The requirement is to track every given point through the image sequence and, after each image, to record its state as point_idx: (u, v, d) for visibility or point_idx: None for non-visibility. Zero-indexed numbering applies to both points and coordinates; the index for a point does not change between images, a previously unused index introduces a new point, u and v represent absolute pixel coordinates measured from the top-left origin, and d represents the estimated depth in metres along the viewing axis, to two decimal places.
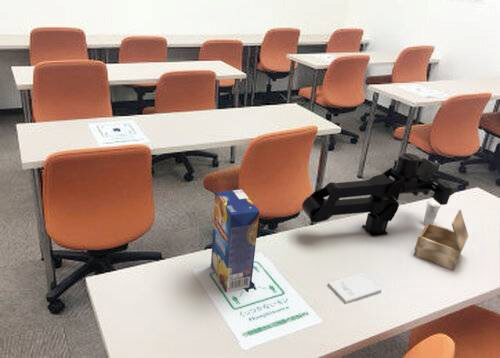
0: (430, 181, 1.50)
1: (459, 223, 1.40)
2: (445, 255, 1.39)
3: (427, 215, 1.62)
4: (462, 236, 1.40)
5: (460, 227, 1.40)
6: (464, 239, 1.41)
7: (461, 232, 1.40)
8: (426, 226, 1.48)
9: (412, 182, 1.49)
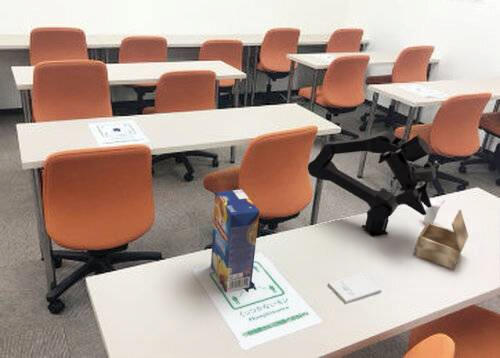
0: (413, 181, 1.40)
1: (459, 223, 1.40)
2: (445, 255, 1.39)
3: (427, 215, 1.62)
4: (462, 236, 1.40)
5: (460, 227, 1.40)
6: (464, 239, 1.41)
7: (461, 232, 1.40)
8: (426, 226, 1.48)
9: (402, 164, 1.41)
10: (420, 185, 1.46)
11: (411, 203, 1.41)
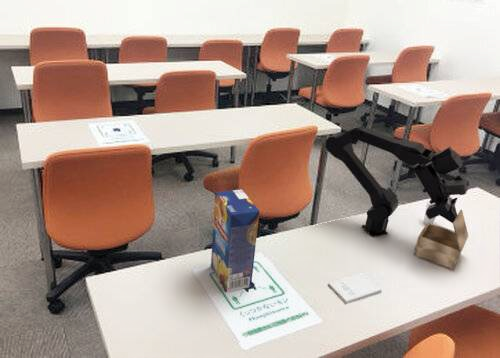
0: (444, 195, 1.36)
1: (460, 223, 1.40)
2: (445, 255, 1.39)
3: None
4: (463, 236, 1.40)
5: (461, 227, 1.40)
6: (464, 239, 1.41)
7: (461, 232, 1.40)
8: (426, 226, 1.48)
9: (432, 176, 1.37)
10: (448, 201, 1.40)
11: (444, 213, 1.39)
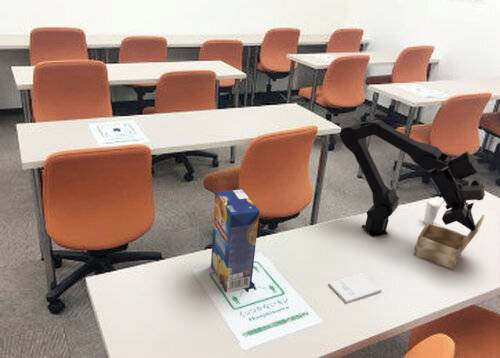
0: (461, 200, 1.34)
1: None
2: (445, 255, 1.39)
3: (427, 215, 1.62)
4: (469, 238, 1.39)
5: None
6: None
7: None
8: (426, 226, 1.48)
9: (449, 181, 1.35)
10: None
11: None
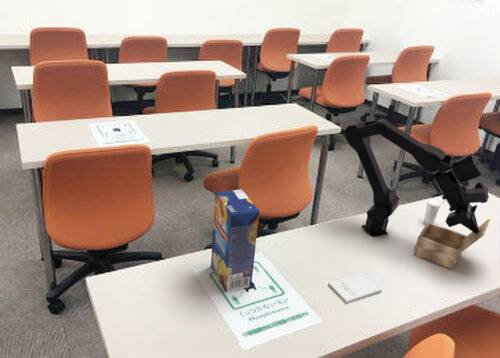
0: (465, 202, 1.34)
1: None
2: (445, 255, 1.39)
3: (427, 215, 1.62)
4: None
5: None
6: None
7: None
8: (426, 226, 1.48)
9: (453, 184, 1.35)
10: None
11: None
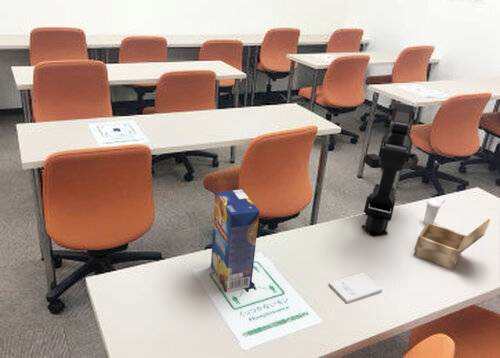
0: None
1: None
2: (445, 255, 1.39)
3: (427, 215, 1.62)
4: None
5: None
6: None
7: None
8: (426, 226, 1.48)
9: None
10: None
11: None
